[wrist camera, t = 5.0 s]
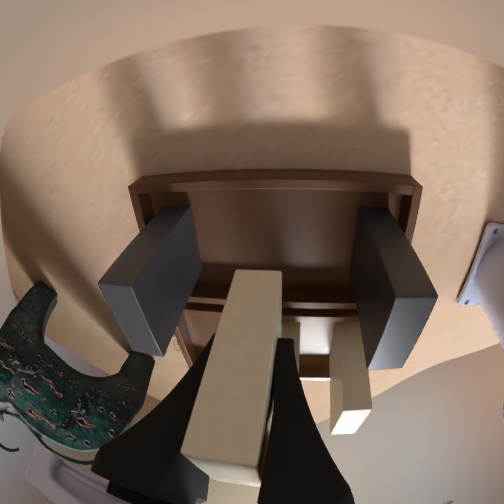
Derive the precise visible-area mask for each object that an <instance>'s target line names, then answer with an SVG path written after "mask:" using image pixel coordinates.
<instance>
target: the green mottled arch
mask: <svg viewBox="0 0 504 504" xmlns="http://www.w3.org/2000/svg"><path fill="white" fill-rule="evenodd" d="M56 303H57V293H55V292H54V291H52V290H51V289H49V288H48V287H47V286H45V285H44V284H43V283H42V282H41V281H40V280H39V281H37V282H36V284H35V285H34V286H33V287H32V288H31V289H30V290H29V291H28V292H27V293H26V294H25V296H24V297H23V298H22V299H21V301H20V302H19V303H18V304H17V306H16V307H15V308H14V309H13V310H12V311H11V312H10V314H9V316H8V317H7V319H6V321H5V322H4V324H3V326H2V328H1V329H0V419H1V421H3V420H4V419H3V413H5V414H9V415H11V416H14V417H16V418H18V419H19V420H21V421H22V422H23V423H24V424H25V425H26V426H27V427H28V429H29V430H30V431H31V432H32V433H33V434H34V435H35V436H36V437H37V438H38V440H39V441H40V442H41V443H42V444H43V445H44V446H45V447H46V448H47V449H49V450H50V451H52V452H53V453H55V454H56V455H59V456H61V457H62V458H64V459H66V460H67V461H70V462H73V463H77V464H82V465H91V464H93V461H94V460H90V461H79V460H75V459H72V458H70V457H67V456H64V455H61V454H59V453H57V452H55V451H54V450H52V449H51V448H50V447H49V446H47V445H46V444H45V443H44V441H43V440H42V438H41V436H44V437H46V438H47V439H49V440H51V441H53V442H55V443H57V444H59V445H61V446H64V447H66V448H69V449H72V450H76V451H82V452H93V451H97V450H99V448H100V446H102V445H104V444H105V443H107V442H109V441H111V440H112V439H114V438H116V437H117V436H119V435H121V434H122V433H124V432H125V431H126V430H128V429H129V428H130V427H131V425H132V423H133V422H134V420H135V418H136V416H137V415H138V413H139V412H140V410H141V408H142V407H143V404H144V401H145V397H146V393H147V390H148V386H149V382H150V378H151V374H152V371H153V367H154V364H155V361H154V360H153V359H152V358H150V357H149V356H147V355H146V354H144V353H141V352H136V351H133V350H132V351H131V352H130V354H129V356H128V358H127V359H126V361H125V362H124V364H123V365H122V367H121V369H120V371H119V373H117V374H114V375H111V376H107V377H92V376H88V375H85V374H83V373H80V372H78V371H77V370H75V369H73V368H72V367H70V366H69V365H67V364H66V363H65V362H64V361H63V360H62V359H61V358H60V357H59V356H58V355H57V354H56V353H55V352H54V351H52V349H51V348H50V347H49V346H47V345H46V344H45V342H44V333H45V328H46V325H47V322H48V320H49V317H50V315H51V313H52V311H53V309H54V308H55V306H56ZM9 408H10V409H13V410H14V411H15V412H16V413H17V414H16V413H11V412H9V411H7V409H9ZM0 447H1V448H3V449H4V450H6V451H9V452H17V451H19V448H17V449H9V448H6V447H4V446H3V445H2V444H0Z"/></svg>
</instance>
